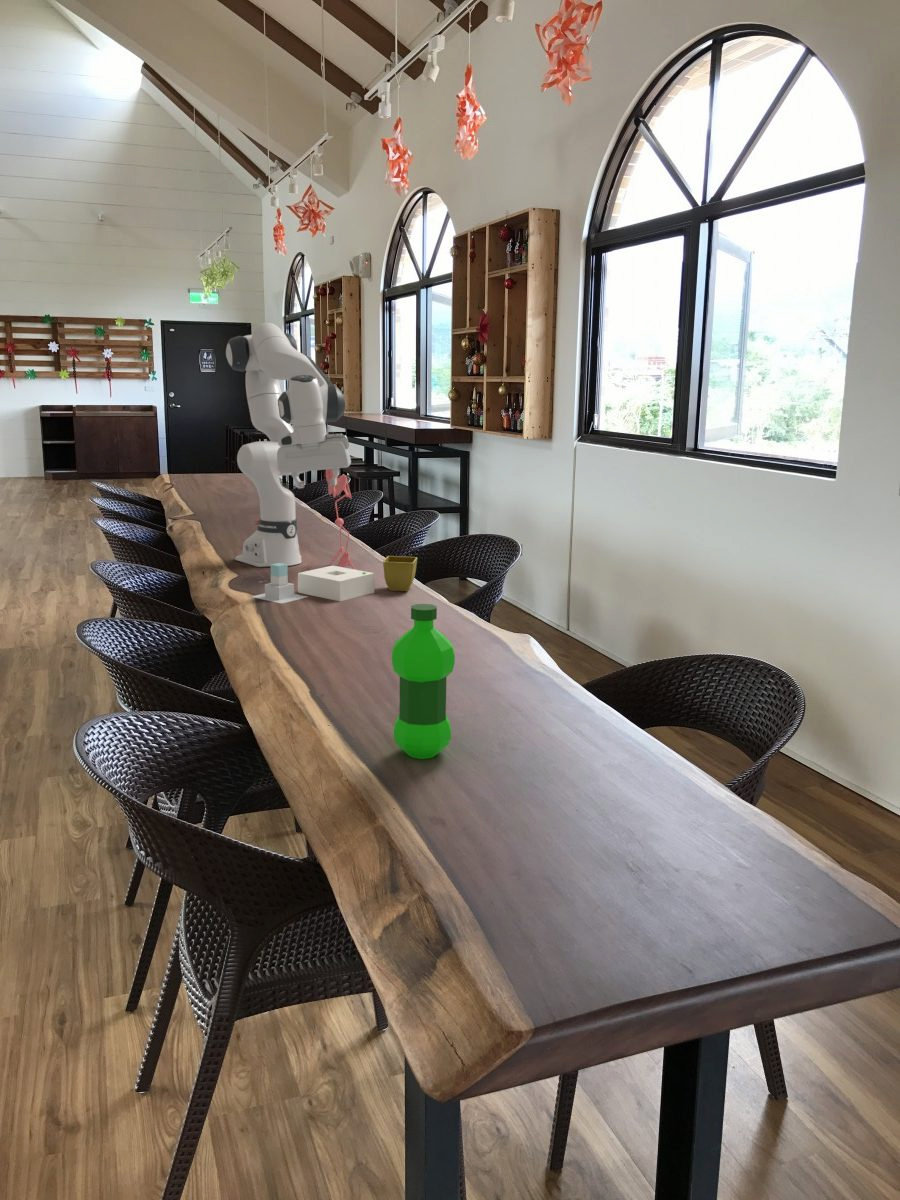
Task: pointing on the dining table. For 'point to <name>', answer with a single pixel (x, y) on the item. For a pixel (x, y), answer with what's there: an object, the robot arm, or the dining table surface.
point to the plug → (279, 574)
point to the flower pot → (399, 572)
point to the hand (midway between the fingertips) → (317, 486)
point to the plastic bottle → (422, 685)
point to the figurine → (339, 522)
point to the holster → (279, 594)
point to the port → (336, 583)
